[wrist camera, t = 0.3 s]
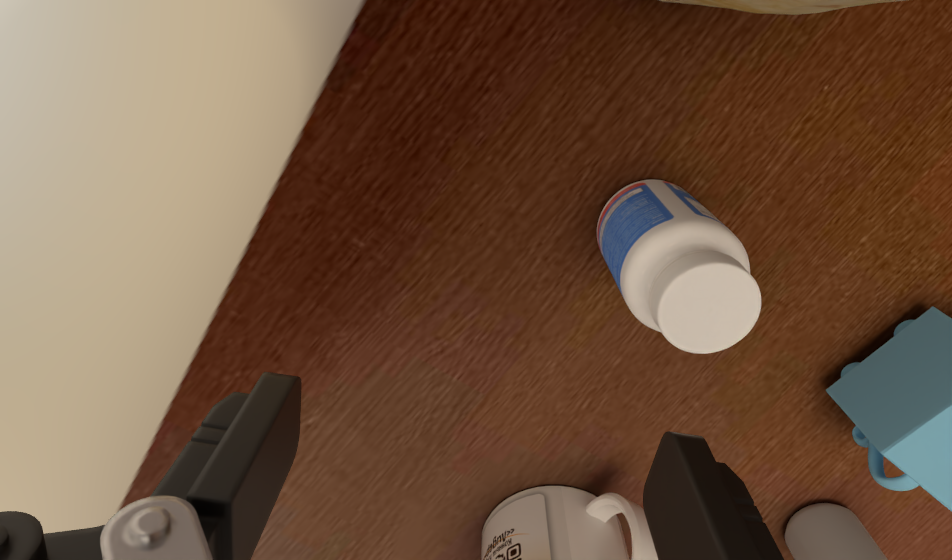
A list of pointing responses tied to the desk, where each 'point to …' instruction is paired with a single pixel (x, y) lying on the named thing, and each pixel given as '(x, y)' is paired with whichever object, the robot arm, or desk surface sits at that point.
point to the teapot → (905, 405)
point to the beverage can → (829, 535)
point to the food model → (781, 5)
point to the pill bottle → (678, 266)
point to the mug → (565, 527)
